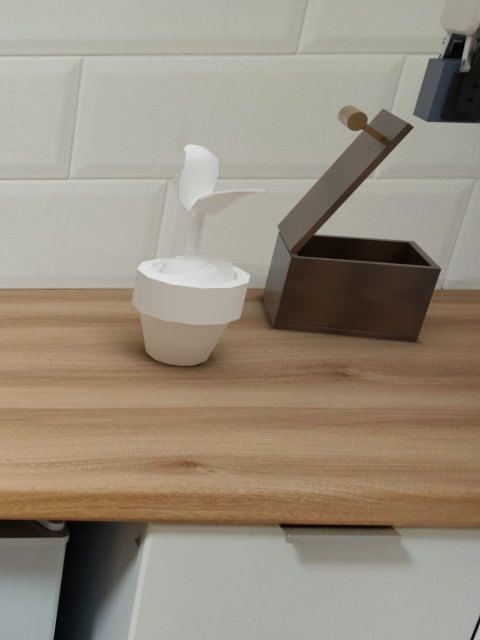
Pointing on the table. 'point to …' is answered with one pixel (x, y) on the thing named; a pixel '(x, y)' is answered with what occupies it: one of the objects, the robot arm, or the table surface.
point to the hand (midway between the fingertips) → (451, 114)
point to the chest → (351, 287)
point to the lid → (343, 173)
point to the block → (436, 89)
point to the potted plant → (191, 273)
